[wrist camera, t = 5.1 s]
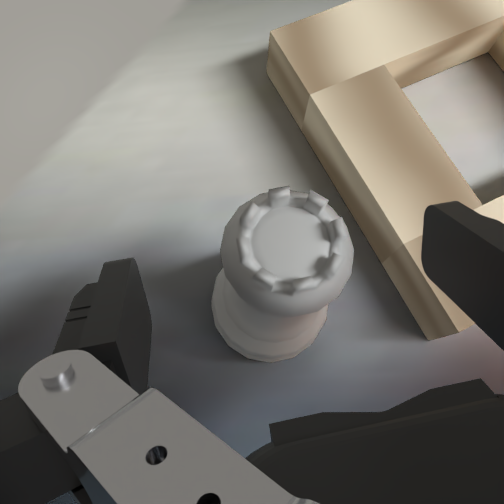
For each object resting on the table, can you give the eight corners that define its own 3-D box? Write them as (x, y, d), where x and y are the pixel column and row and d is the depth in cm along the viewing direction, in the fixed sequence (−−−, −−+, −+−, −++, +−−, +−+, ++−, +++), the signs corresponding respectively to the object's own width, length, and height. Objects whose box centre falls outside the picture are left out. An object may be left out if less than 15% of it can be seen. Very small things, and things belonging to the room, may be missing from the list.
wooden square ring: (428, 340, 17) (459, 332, 15) (266, 72, 21) (270, 31, 18) (690, 199, 19) (753, 172, 17) (502, -20, 23) (533, -67, 21)
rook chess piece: (188, 306, 17) (148, 238, 10) (265, 231, 18) (285, 115, 11) (270, 389, 16) (299, 385, 9) (347, 304, 17) (431, 236, 10)
